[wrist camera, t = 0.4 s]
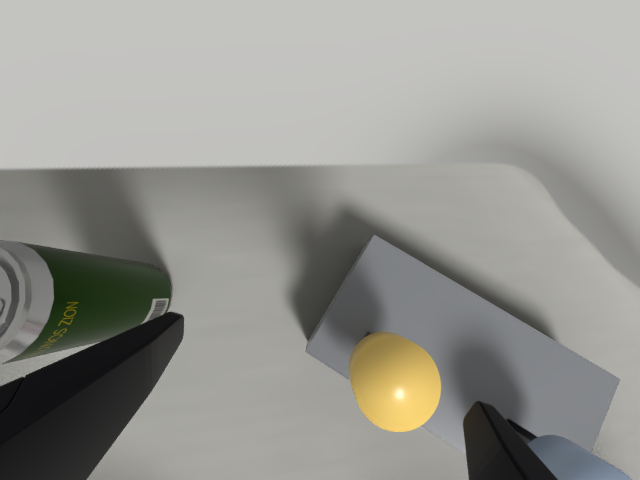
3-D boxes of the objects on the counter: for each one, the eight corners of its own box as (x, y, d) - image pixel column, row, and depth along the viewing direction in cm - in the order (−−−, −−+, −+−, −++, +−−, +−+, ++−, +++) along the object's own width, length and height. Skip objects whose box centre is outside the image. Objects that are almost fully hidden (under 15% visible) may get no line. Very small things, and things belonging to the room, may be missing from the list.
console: (567, 364, 23) (620, 379, 19) (519, 476, 21) (564, 518, 17) (365, 243, 24) (374, 234, 20) (307, 341, 23) (305, 351, 19)
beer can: (185, 273, 24) (54, 255, 12) (161, 340, 23) (-7, 392, 11) (123, 255, 24) (-67, 220, 12) (97, 321, 23) (-136, 352, 11)
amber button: (414, 374, 19) (455, 410, 13) (357, 399, 19) (374, 447, 13) (389, 315, 20) (418, 325, 14) (333, 338, 19) (340, 358, 14)
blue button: (557, 464, 18) (668, 544, 12) (500, 492, 18) (585, 586, 12) (526, 399, 19) (617, 446, 13) (470, 425, 18) (538, 484, 13)
